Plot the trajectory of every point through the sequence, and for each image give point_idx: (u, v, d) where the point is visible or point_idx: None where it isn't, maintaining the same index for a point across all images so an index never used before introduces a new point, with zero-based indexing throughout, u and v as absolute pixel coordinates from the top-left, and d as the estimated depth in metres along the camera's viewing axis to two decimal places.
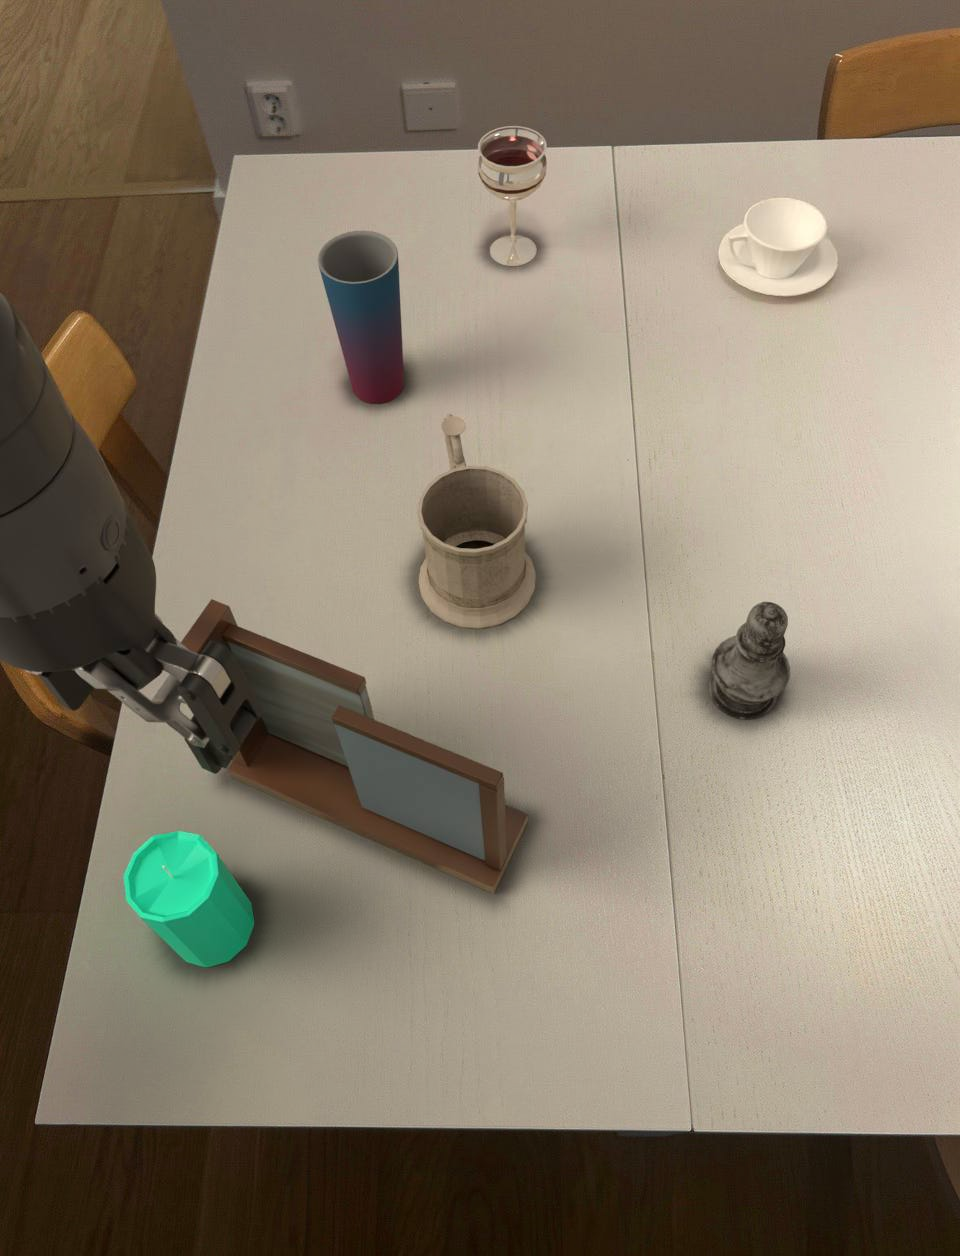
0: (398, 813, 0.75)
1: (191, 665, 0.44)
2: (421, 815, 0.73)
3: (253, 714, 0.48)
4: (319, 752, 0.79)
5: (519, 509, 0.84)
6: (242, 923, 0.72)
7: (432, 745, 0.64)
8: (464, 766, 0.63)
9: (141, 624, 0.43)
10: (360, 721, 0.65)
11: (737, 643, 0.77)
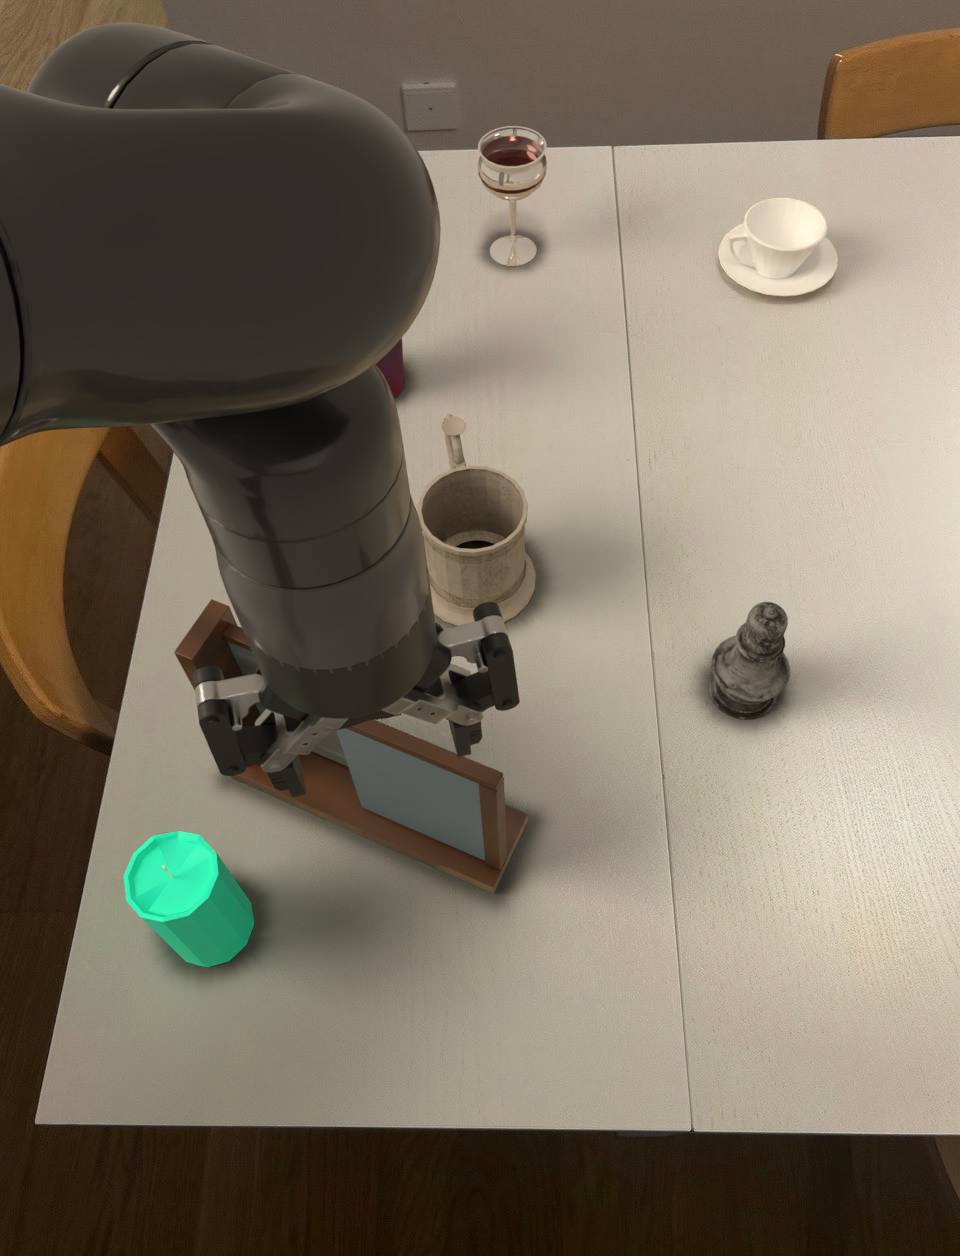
0: (398, 813, 0.75)
1: (482, 631, 0.46)
2: (421, 815, 0.73)
3: None
4: (319, 752, 0.79)
5: (519, 509, 0.84)
6: (242, 923, 0.72)
7: (432, 745, 0.64)
8: (464, 766, 0.63)
9: None
10: None
11: (737, 643, 0.77)
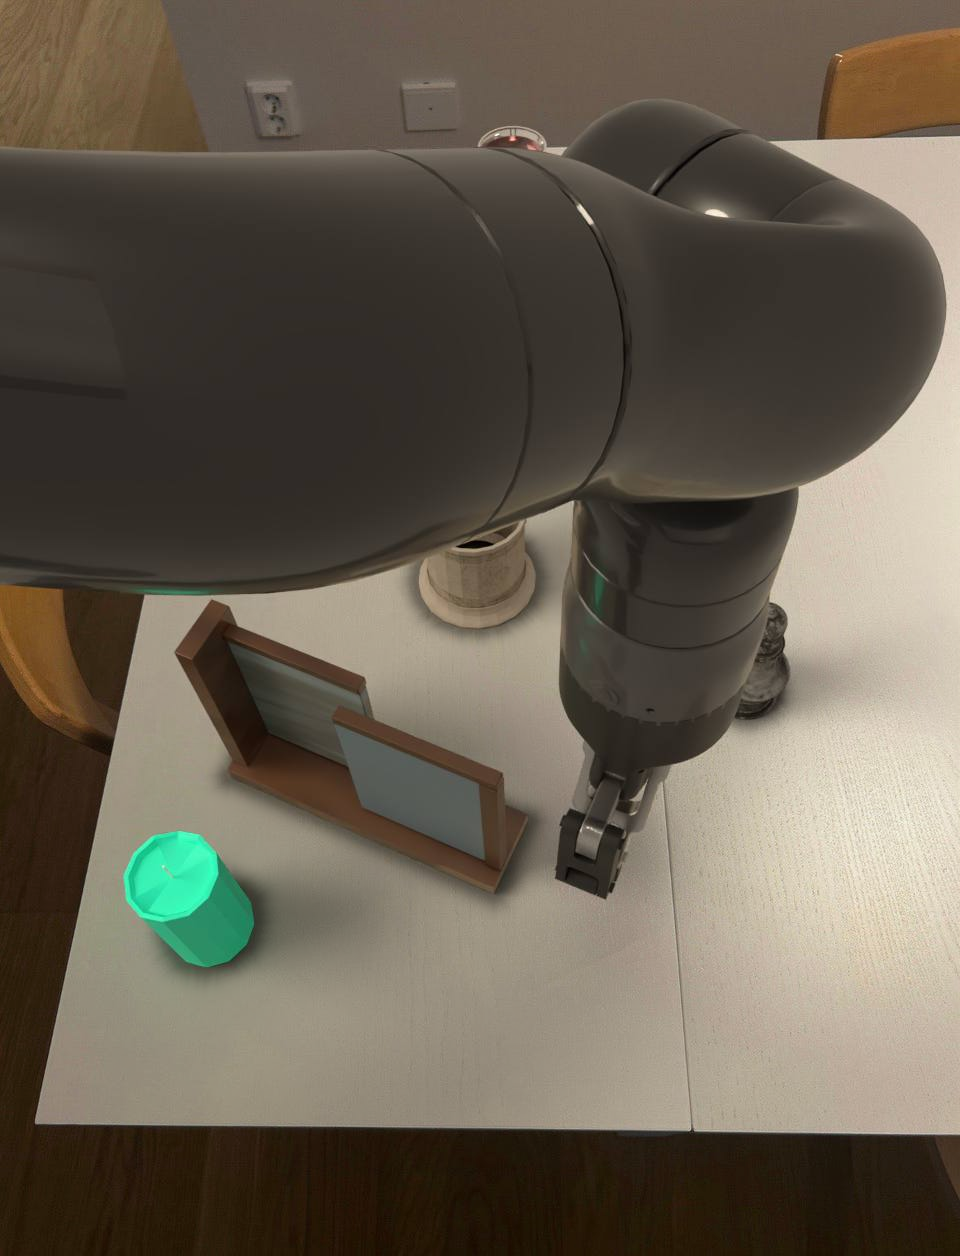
0: (398, 813, 0.75)
1: None
2: (421, 815, 0.73)
3: None
4: (319, 752, 0.79)
5: None
6: (242, 923, 0.72)
7: (432, 745, 0.64)
8: (464, 766, 0.63)
9: None
10: (360, 721, 0.65)
11: None
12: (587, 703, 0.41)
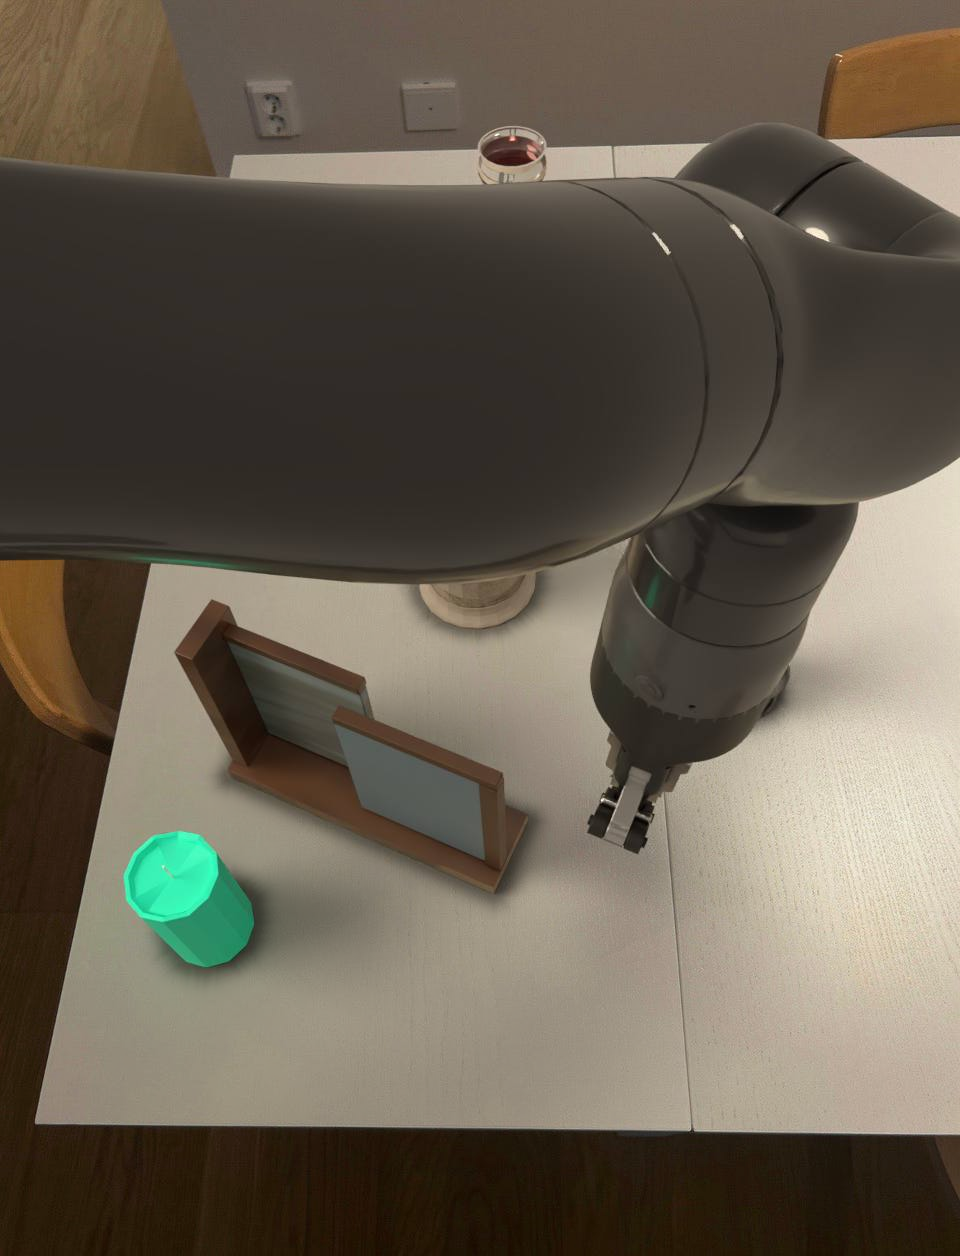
0: (398, 813, 0.75)
1: None
2: (421, 815, 0.73)
3: None
4: (319, 752, 0.79)
5: None
6: (242, 923, 0.72)
7: (432, 745, 0.64)
8: (464, 766, 0.63)
9: None
10: (360, 721, 0.65)
11: None
12: (626, 699, 0.42)
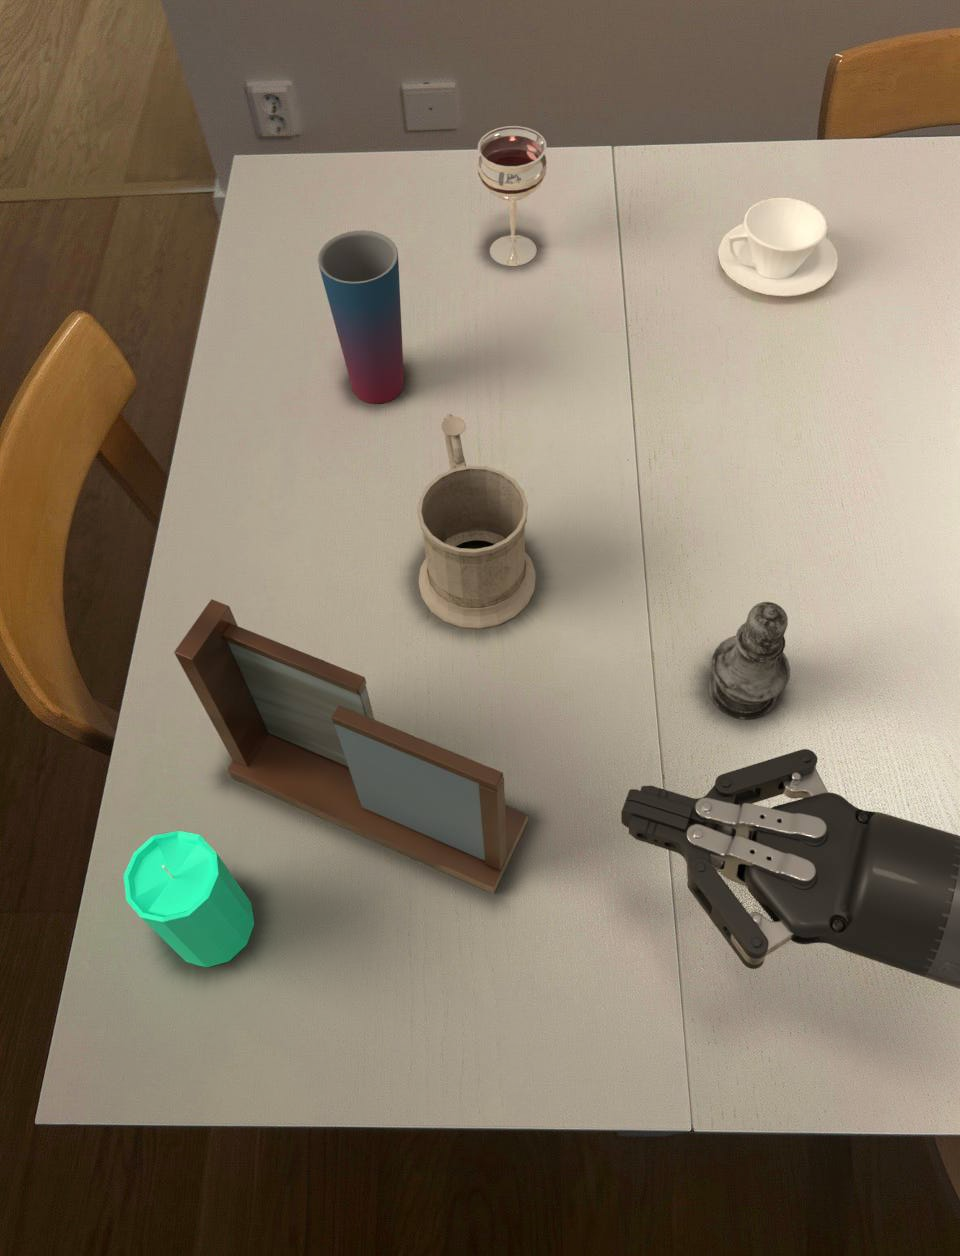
0: (398, 813, 0.75)
1: None
2: (421, 815, 0.73)
3: (730, 781, 0.60)
4: (319, 752, 0.79)
5: (519, 509, 0.84)
6: (242, 923, 0.72)
7: (432, 745, 0.64)
8: (464, 766, 0.63)
9: None
10: (360, 721, 0.65)
11: (737, 643, 0.77)
12: (917, 951, 0.53)
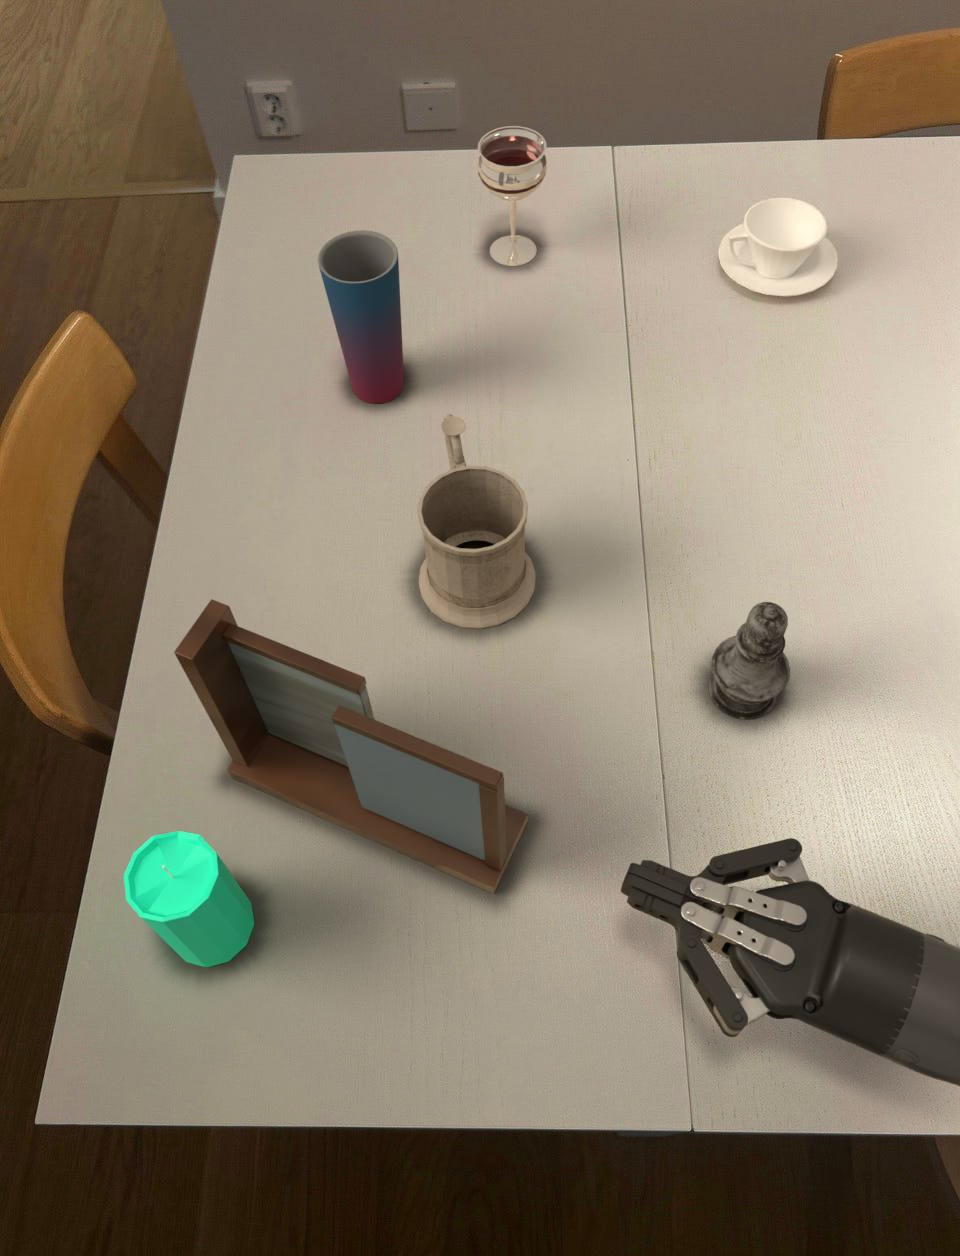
0: (398, 813, 0.75)
1: None
2: (421, 815, 0.73)
3: (723, 862, 0.66)
4: (319, 752, 0.79)
5: (519, 509, 0.84)
6: (242, 923, 0.72)
7: (432, 745, 0.64)
8: (464, 766, 0.63)
9: None
10: (360, 721, 0.65)
11: (737, 643, 0.77)
12: (878, 1037, 0.59)
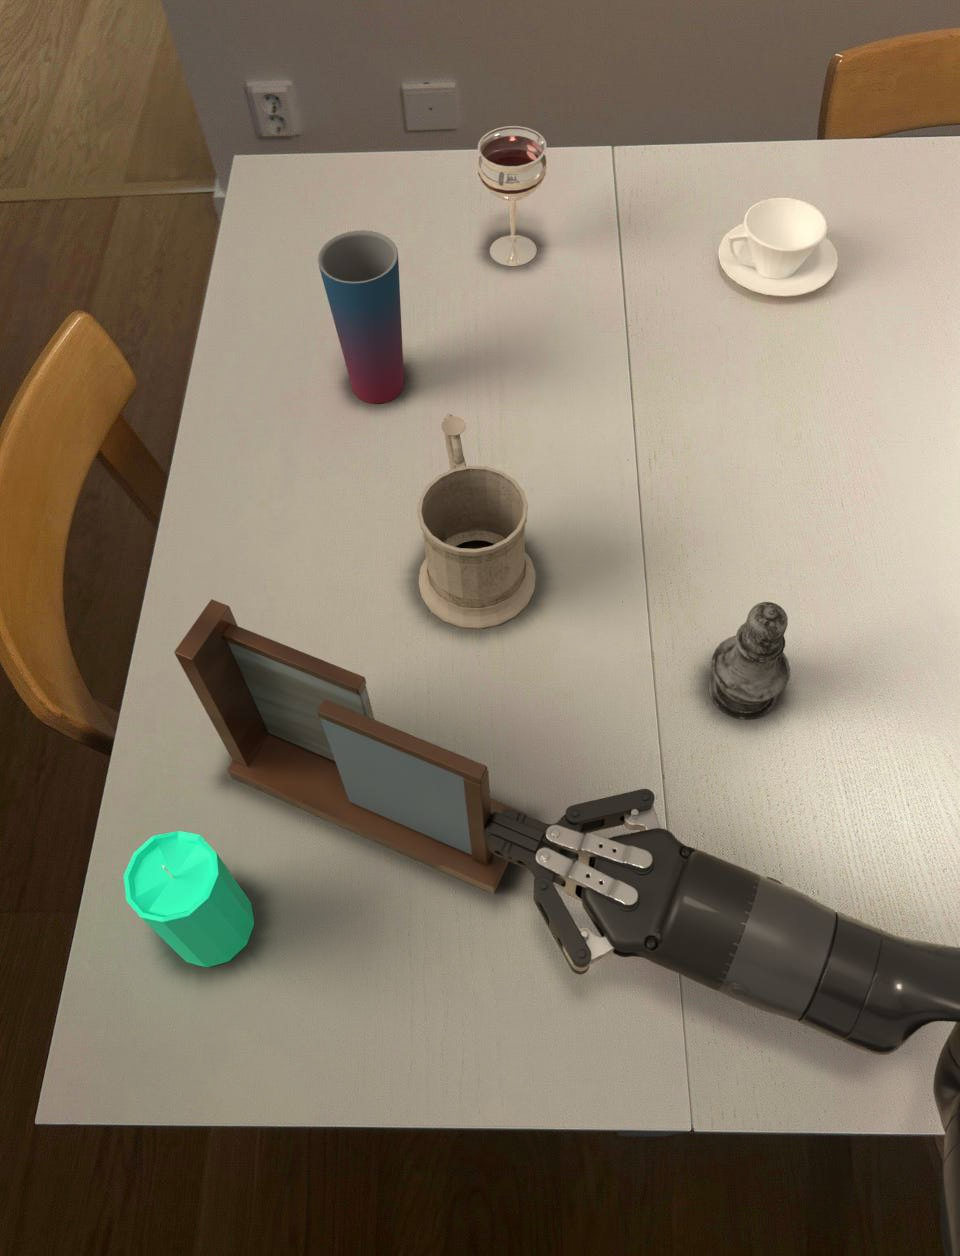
0: (386, 807, 0.75)
1: None
2: (408, 810, 0.73)
3: None
4: (319, 752, 0.79)
5: (519, 509, 0.84)
6: (242, 923, 0.72)
7: (417, 739, 0.64)
8: (449, 760, 0.63)
9: None
10: (345, 715, 0.65)
11: (737, 643, 0.77)
12: (712, 971, 0.63)
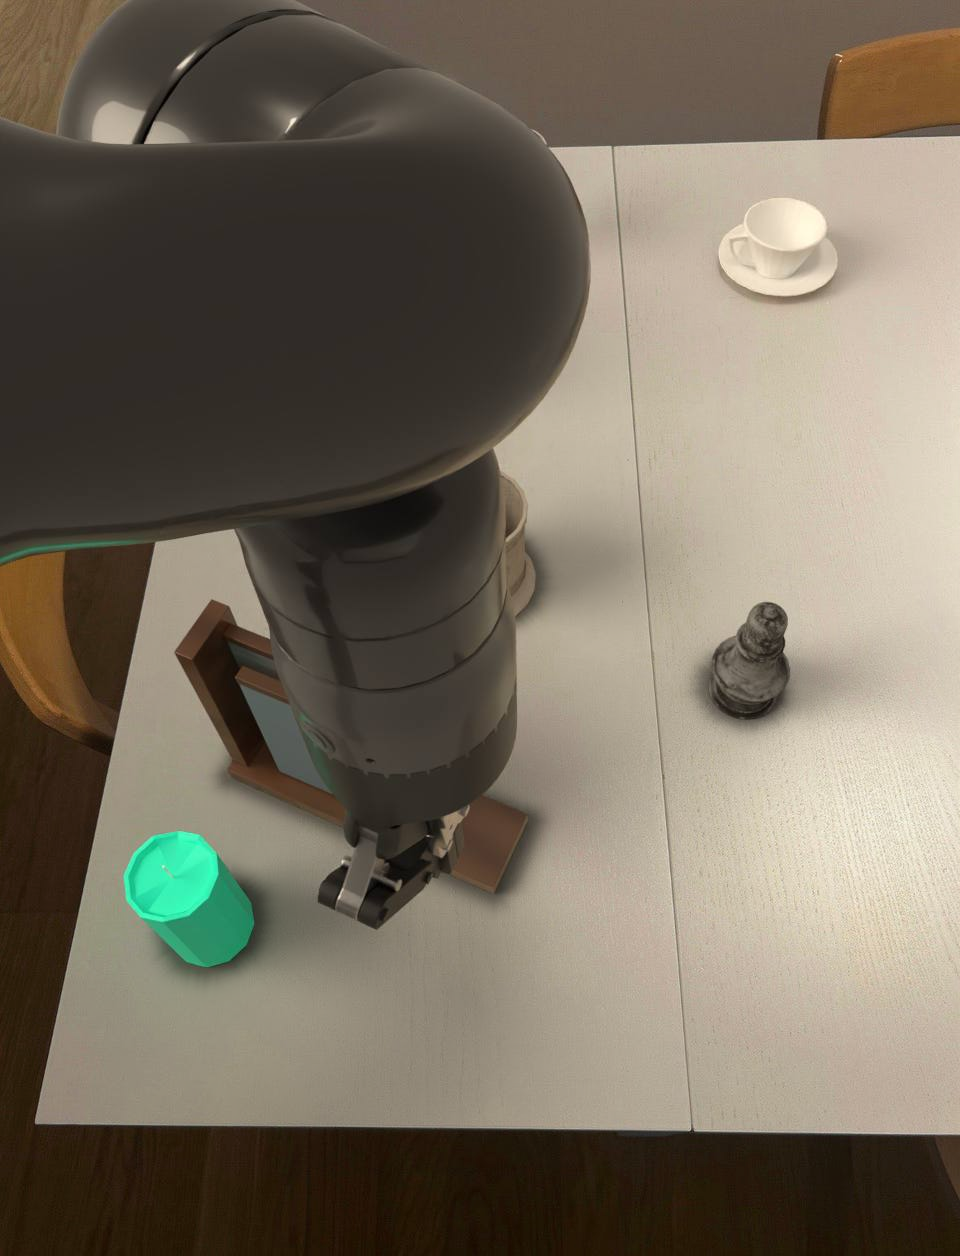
0: (312, 775, 0.76)
1: None
2: None
3: None
4: None
5: (519, 509, 0.84)
6: (242, 923, 0.72)
7: None
8: None
9: None
10: (262, 681, 0.67)
11: (737, 643, 0.77)
12: (313, 748, 0.34)
